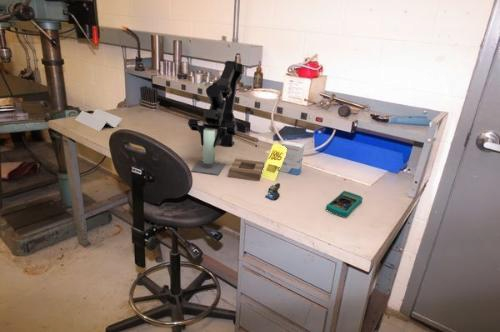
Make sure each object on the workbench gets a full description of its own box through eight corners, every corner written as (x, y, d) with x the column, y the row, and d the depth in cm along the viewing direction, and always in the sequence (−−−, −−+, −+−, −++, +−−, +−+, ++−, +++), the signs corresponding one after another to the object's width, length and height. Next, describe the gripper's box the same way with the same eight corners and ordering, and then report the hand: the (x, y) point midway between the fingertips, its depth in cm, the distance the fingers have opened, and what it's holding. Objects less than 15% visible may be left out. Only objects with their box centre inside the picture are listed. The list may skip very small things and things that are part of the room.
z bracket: (108, 137, 175) (99, 131, 170) (84, 126, 189) (74, 119, 185) (122, 118, 178) (113, 111, 173) (97, 108, 192) (88, 101, 187)
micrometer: (275, 197, 116) (262, 193, 118) (275, 202, 116) (261, 198, 118) (288, 184, 125) (276, 180, 127) (288, 188, 126) (275, 185, 128)
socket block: (235, 165, 142) (235, 158, 141) (263, 168, 141) (264, 162, 139) (228, 176, 131) (228, 169, 130) (259, 181, 130) (260, 173, 129)
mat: (199, 161, 143) (199, 160, 143) (225, 164, 142) (225, 163, 142) (190, 171, 133) (190, 170, 133) (218, 175, 132) (218, 174, 132)
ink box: (301, 171, 141) (305, 144, 136) (297, 175, 137) (301, 147, 132) (282, 166, 144) (285, 139, 140) (277, 170, 140) (280, 143, 135)
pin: (208, 158, 139) (209, 127, 134) (216, 161, 137) (217, 130, 132) (200, 161, 136) (201, 130, 131) (208, 164, 134) (209, 132, 129)
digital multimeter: (324, 211, 113) (325, 204, 112) (342, 196, 124) (343, 188, 123) (345, 220, 109) (347, 212, 108) (362, 203, 120) (363, 195, 119)
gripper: (189, 97, 132) (179, 133, 126) (236, 102, 129) (228, 139, 124) (195, 112, 142) (186, 146, 137) (239, 117, 140) (232, 152, 134)
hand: (208, 146), depth 133 cm, fingers closed on pin, 4 cm apart
